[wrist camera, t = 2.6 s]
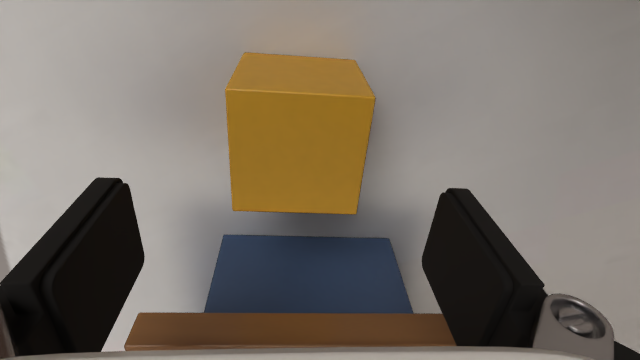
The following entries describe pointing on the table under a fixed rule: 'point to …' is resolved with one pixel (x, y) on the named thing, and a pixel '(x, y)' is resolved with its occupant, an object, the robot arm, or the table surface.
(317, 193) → the mustard block
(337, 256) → the blue box
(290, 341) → the wooden board
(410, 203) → the table surface
